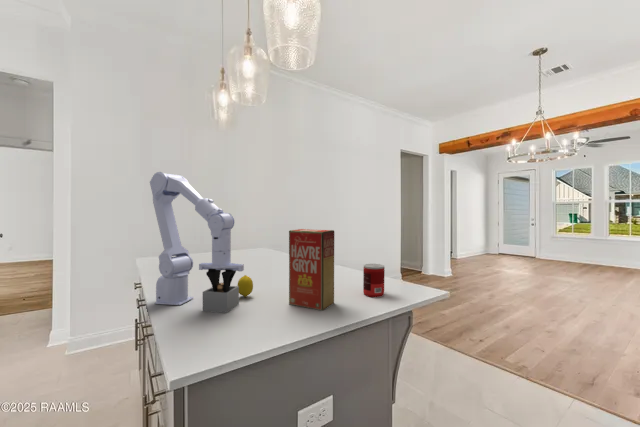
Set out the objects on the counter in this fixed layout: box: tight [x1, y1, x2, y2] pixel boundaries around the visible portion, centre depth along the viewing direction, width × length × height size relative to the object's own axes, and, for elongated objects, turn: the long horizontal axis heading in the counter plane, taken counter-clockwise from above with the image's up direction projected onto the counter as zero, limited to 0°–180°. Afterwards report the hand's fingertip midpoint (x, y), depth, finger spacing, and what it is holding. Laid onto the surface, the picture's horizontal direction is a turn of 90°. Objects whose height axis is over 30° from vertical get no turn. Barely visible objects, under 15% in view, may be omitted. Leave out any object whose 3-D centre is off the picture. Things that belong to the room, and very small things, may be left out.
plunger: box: [217, 282, 224, 292], centre depth 95 cm, size 6×6×7 cm
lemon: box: [236, 274, 254, 298], centre depth 106 cm, size 6×6×8 cm
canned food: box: [362, 263, 385, 298], centre depth 111 cm, size 8×8×11 cm
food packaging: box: [288, 228, 335, 311], centre depth 99 cm, size 13×9×25 cm
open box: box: [202, 285, 240, 314], centre depth 95 cm, size 8×8×6 cm
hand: (221, 292), depth 95 cm, fingers closed on plunger, 3 cm apart
